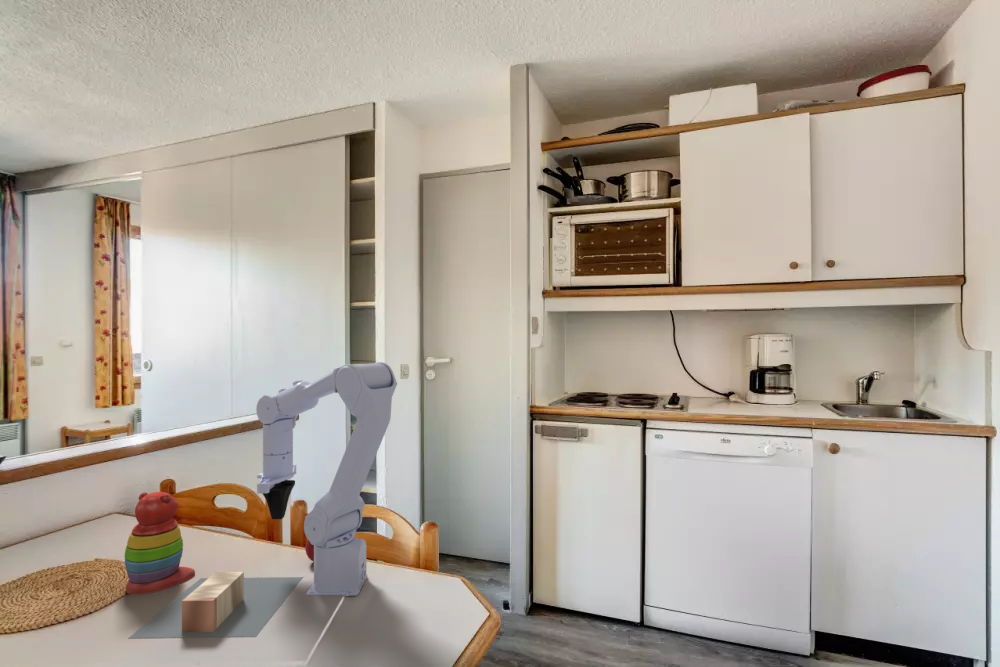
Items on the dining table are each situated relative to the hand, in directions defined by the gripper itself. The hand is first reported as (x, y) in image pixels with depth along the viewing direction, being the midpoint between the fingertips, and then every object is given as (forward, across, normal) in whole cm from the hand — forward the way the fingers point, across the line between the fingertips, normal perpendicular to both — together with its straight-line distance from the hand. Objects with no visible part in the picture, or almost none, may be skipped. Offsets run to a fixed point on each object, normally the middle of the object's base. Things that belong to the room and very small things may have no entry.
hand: (278, 518), depth 105 cm
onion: (+11, -2, +8) cm, 13 cm away
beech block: (+7, +14, -3) cm, 16 cm away
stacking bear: (+11, +6, -21) cm, 24 cm away
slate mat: (+10, +15, -3) cm, 18 cm away
